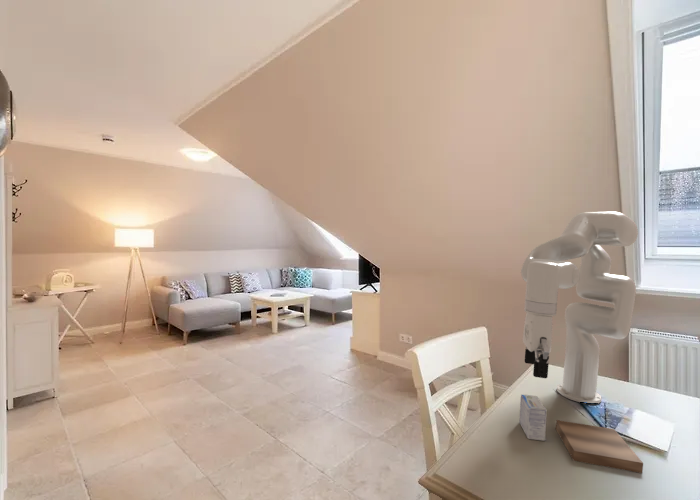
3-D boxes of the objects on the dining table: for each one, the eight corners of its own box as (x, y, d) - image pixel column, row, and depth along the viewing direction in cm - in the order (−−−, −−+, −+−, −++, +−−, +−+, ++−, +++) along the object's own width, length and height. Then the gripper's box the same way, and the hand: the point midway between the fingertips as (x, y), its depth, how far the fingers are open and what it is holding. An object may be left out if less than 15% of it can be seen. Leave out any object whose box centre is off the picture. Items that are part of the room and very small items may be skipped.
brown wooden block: (555, 428, 96) (556, 419, 96) (613, 438, 93) (614, 429, 93) (573, 460, 83) (574, 450, 83) (642, 473, 79) (643, 463, 79)
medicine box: (545, 441, 90) (547, 410, 90) (526, 439, 91) (529, 407, 90) (535, 425, 98) (537, 395, 97) (518, 422, 99) (520, 393, 98)
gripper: (518, 300, 101) (513, 357, 102) (532, 313, 85) (527, 380, 86) (546, 302, 99) (541, 360, 100) (567, 316, 83) (561, 385, 84)
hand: (535, 370), depth 93 cm, fingers open, 9 cm apart
